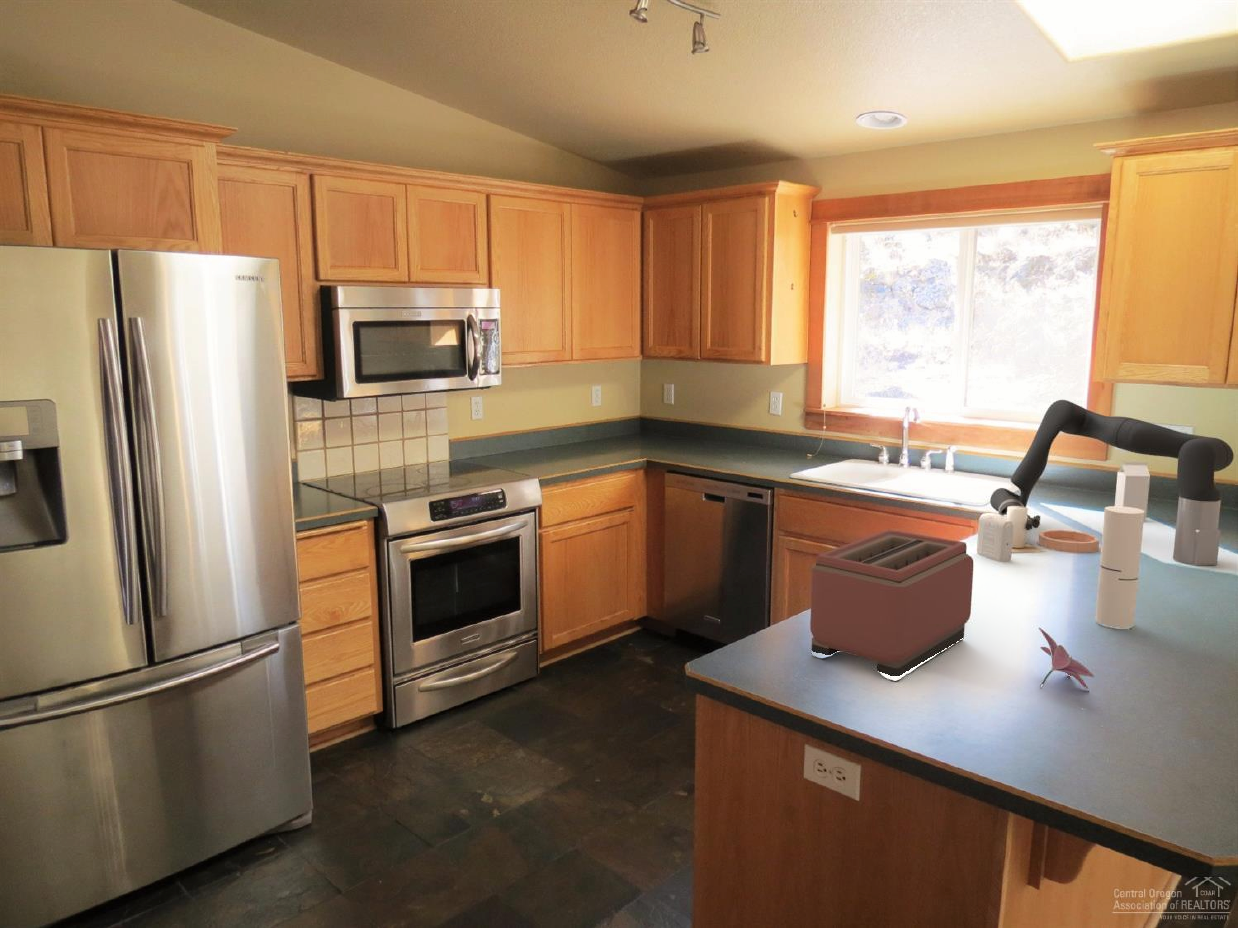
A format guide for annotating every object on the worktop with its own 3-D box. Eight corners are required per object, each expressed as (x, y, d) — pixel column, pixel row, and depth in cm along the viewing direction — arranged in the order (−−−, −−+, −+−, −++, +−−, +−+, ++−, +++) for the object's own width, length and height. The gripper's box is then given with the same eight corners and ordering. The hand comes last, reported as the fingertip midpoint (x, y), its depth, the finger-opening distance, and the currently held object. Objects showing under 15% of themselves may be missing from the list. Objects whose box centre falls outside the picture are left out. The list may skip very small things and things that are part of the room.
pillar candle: (1029, 547, 239) (1031, 509, 237) (1011, 548, 238) (1013, 510, 236) (1019, 542, 244) (1021, 505, 242) (1001, 543, 243) (1003, 506, 242)
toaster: (978, 633, 176) (984, 538, 172) (897, 686, 151) (902, 575, 147) (892, 612, 189) (896, 523, 186) (804, 657, 164) (806, 555, 161)
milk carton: (1145, 522, 271) (1151, 463, 268) (1121, 521, 272) (1126, 463, 269) (1137, 517, 278) (1142, 460, 275) (1113, 516, 279) (1118, 459, 276)
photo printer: (1013, 562, 227) (1016, 517, 225) (1000, 563, 226) (1003, 518, 224) (986, 552, 237) (989, 509, 235) (974, 553, 236) (976, 510, 234)
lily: (1090, 713, 142) (1116, 662, 142) (1021, 677, 145) (1046, 628, 146) (1071, 704, 153) (1095, 657, 154) (1008, 672, 157) (1031, 626, 157)
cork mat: (1046, 553, 236) (1046, 551, 236) (1005, 554, 235) (1005, 553, 235) (1022, 542, 248) (1023, 541, 248) (983, 543, 247) (983, 542, 247)
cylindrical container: (1098, 615, 185) (1108, 504, 181) (1136, 622, 181) (1146, 509, 177) (1092, 624, 180) (1101, 510, 176) (1130, 632, 175) (1141, 515, 171)
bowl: (1110, 552, 236) (1110, 542, 235) (1058, 554, 234) (1058, 543, 234) (1076, 539, 251) (1077, 529, 250) (1027, 540, 249) (1028, 530, 249)
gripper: (987, 500, 255) (990, 511, 239) (1039, 502, 250) (1046, 514, 234) (985, 524, 256) (989, 537, 241) (1038, 527, 251) (1044, 541, 236)
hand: (1017, 526), depth 238 cm, fingers closed on pillar candle, 5 cm apart
